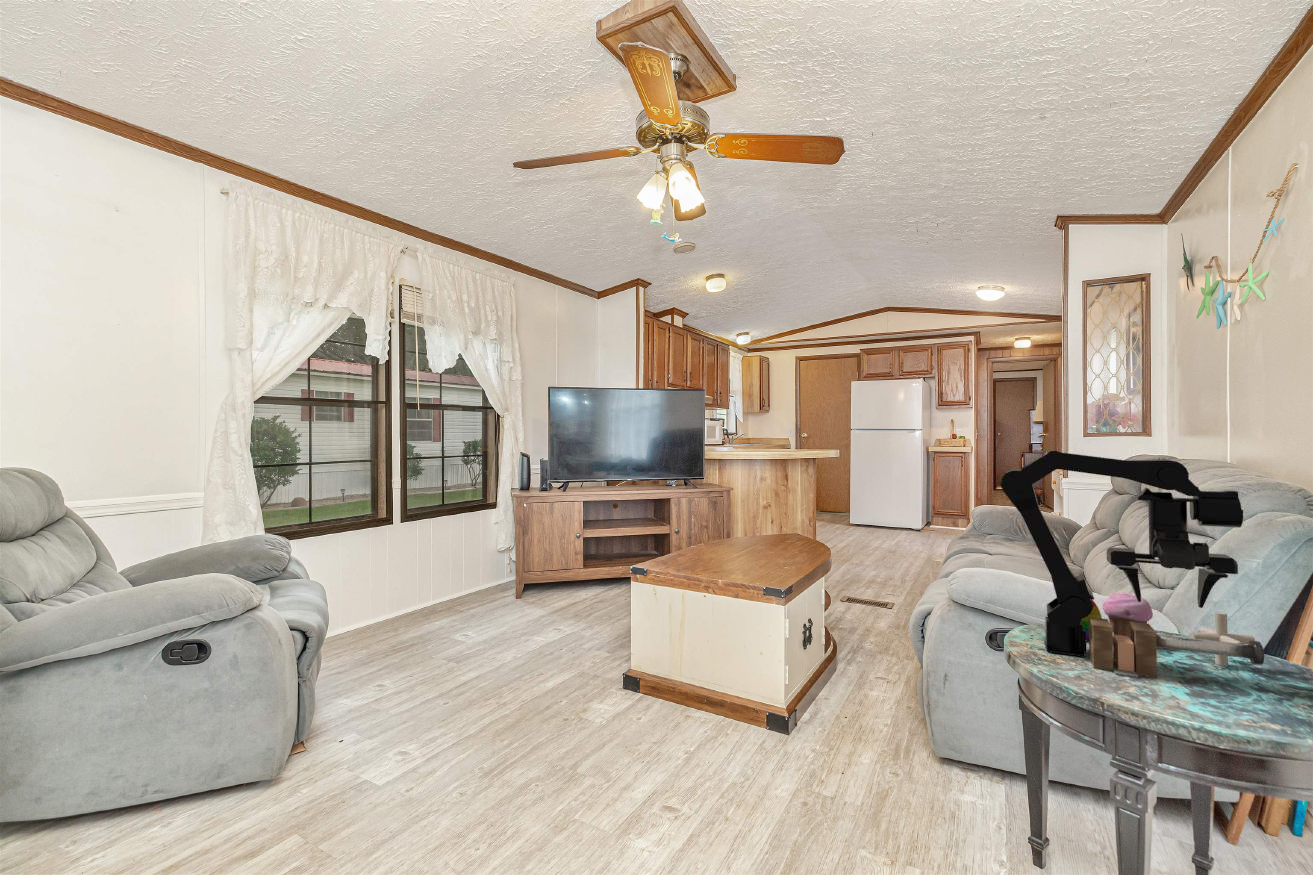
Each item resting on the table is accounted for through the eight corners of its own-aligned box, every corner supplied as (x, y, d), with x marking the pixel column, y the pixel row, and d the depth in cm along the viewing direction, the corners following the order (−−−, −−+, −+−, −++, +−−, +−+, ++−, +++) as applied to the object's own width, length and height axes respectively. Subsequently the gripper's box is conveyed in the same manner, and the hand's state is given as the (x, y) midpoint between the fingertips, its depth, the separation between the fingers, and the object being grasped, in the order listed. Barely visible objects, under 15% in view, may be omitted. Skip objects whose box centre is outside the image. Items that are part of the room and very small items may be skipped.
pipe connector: (1272, 675, 110) (1271, 621, 110) (1210, 672, 112) (1209, 619, 112) (1232, 656, 120) (1231, 607, 120) (1175, 653, 122) (1174, 604, 122)
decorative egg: (1049, 632, 137) (1048, 588, 137) (1081, 630, 138) (1080, 587, 138) (1078, 643, 128) (1077, 597, 129) (1112, 641, 129) (1111, 596, 130)
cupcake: (1100, 630, 137) (1099, 587, 137) (1148, 636, 133) (1147, 591, 133) (1106, 641, 129) (1105, 596, 130) (1157, 648, 125) (1156, 600, 125)
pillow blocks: (1093, 668, 115) (1093, 625, 115) (1089, 658, 120) (1088, 617, 120) (1157, 677, 110) (1156, 632, 110) (1149, 666, 115) (1148, 623, 115)
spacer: (1118, 669, 113) (1117, 642, 113) (1113, 660, 118) (1113, 634, 118) (1134, 671, 112) (1133, 644, 112) (1128, 662, 117) (1128, 636, 117)
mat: (1115, 674, 111) (1115, 673, 111) (1106, 657, 120) (1106, 656, 120) (1138, 677, 110) (1138, 676, 110) (1127, 660, 119) (1127, 658, 119)
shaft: (1140, 652, 112) (1140, 630, 112) (1136, 645, 115) (1135, 625, 116) (1264, 667, 104) (1263, 645, 104) (1255, 660, 107) (1255, 638, 107)
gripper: (1115, 526, 113) (1116, 608, 113) (1248, 532, 104) (1250, 622, 104) (1105, 519, 123) (1106, 595, 123) (1226, 524, 114) (1228, 606, 113)
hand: (1169, 604), depth 115 cm, fingers open, 9 cm apart
